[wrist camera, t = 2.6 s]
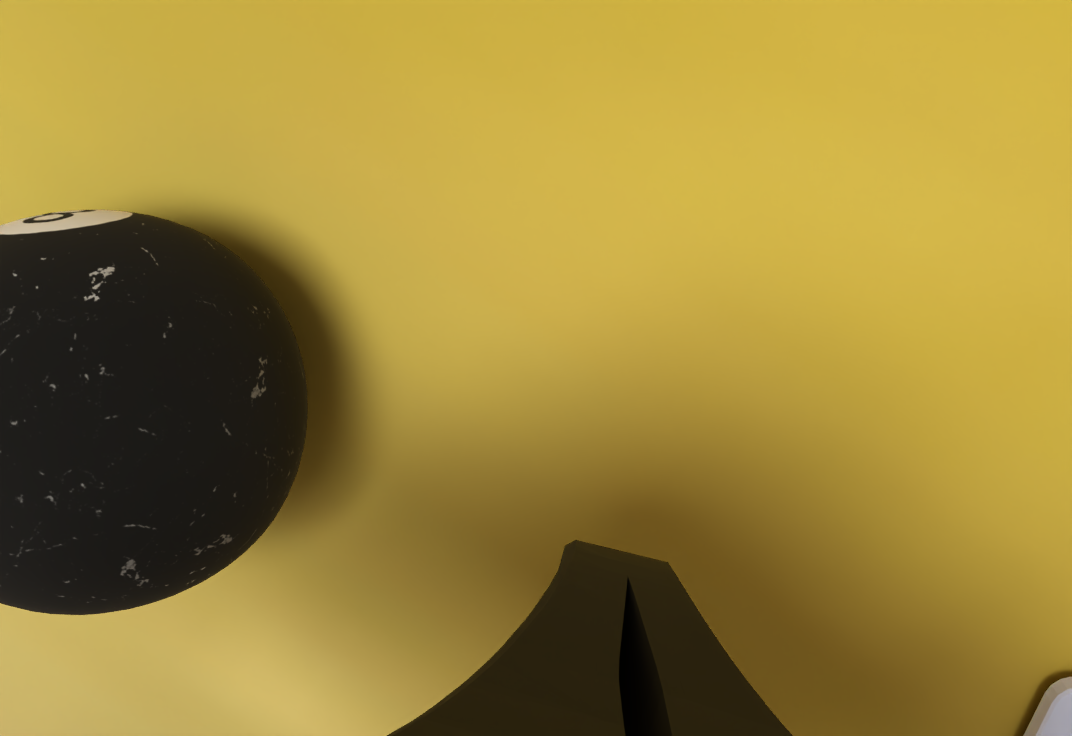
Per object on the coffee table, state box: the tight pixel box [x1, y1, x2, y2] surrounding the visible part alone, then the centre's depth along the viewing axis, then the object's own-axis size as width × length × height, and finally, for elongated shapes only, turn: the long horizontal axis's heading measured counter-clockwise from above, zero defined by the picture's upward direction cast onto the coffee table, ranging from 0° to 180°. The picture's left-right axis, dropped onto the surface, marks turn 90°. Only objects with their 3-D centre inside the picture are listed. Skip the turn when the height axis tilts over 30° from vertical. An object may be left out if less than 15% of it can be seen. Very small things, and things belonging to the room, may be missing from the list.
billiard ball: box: [0, 210, 307, 615], centre depth 14 cm, size 6×6×6 cm
